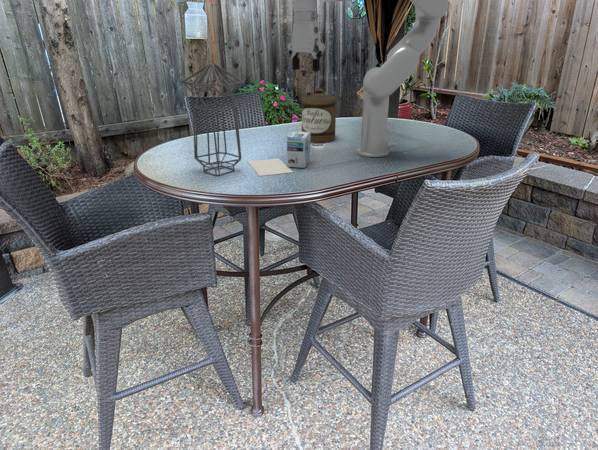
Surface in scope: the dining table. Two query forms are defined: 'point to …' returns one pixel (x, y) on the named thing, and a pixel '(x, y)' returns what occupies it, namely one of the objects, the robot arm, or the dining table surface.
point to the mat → (269, 167)
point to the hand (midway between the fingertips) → (305, 70)
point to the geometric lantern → (218, 71)
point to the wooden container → (319, 116)
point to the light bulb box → (298, 149)
